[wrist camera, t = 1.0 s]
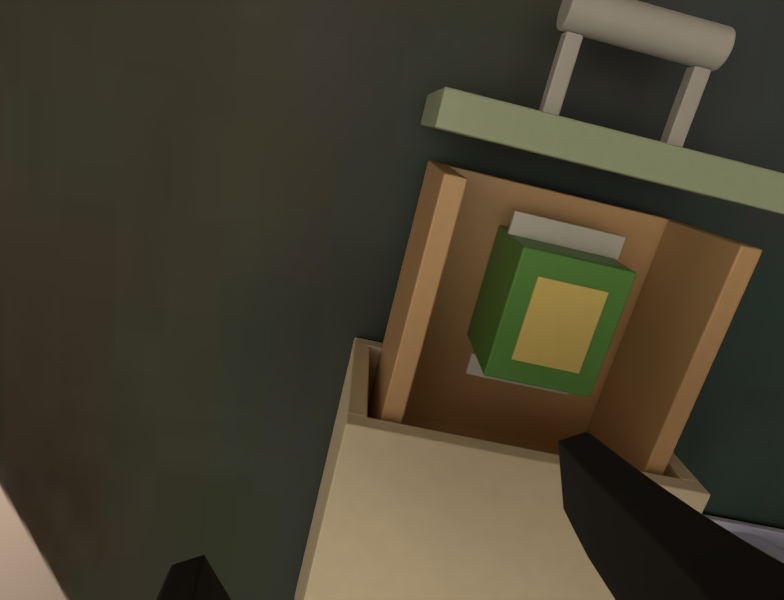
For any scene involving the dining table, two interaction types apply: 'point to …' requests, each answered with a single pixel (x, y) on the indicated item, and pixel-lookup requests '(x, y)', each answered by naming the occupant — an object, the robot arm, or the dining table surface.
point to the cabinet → (444, 513)
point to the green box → (548, 305)
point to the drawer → (642, 230)
